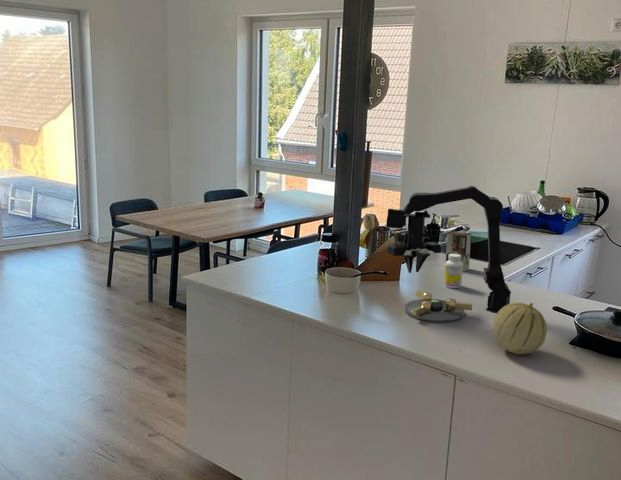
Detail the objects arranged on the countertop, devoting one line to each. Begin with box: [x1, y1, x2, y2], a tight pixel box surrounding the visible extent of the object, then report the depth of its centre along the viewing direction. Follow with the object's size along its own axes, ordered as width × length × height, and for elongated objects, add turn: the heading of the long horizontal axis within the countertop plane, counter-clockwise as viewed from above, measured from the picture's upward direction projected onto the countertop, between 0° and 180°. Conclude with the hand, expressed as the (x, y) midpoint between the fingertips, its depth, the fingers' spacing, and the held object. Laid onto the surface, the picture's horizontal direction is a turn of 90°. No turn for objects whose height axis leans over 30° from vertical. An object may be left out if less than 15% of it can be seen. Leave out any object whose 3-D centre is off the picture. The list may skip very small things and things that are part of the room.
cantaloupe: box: [492, 302, 548, 355], centre depth 166 cm, size 15×15×15 cm
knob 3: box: [445, 298, 473, 311], centre depth 197 cm, size 9×3×3 cm, turn 77°
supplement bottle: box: [443, 254, 463, 289], centre depth 229 cm, size 7×7×13 cm
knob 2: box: [413, 301, 431, 316], centre depth 193 cm, size 9×3×3 cm, turn 137°
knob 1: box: [415, 290, 433, 301], centre depth 207 cm, size 9×3×3 cm, turn 17°
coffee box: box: [445, 230, 472, 272], centre depth 254 cm, size 9×6×16 cm
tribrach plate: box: [404, 298, 465, 324], centre depth 199 cm, size 20×20×4 cm
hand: (413, 272), depth 205 cm, fingers open, 3 cm apart
